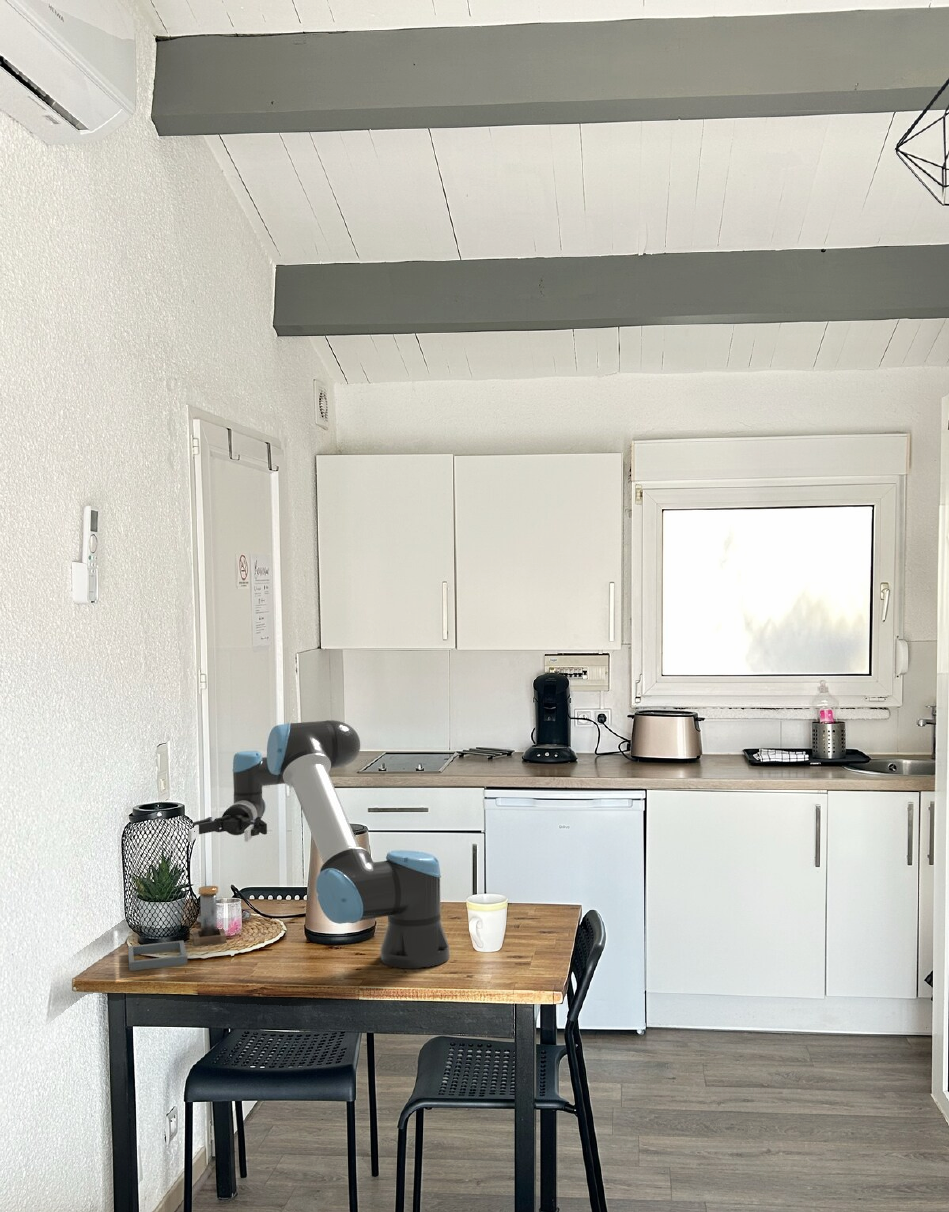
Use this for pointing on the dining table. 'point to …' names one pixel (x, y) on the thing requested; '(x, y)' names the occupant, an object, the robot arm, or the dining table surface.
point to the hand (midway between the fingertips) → (217, 836)
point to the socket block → (209, 938)
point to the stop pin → (208, 910)
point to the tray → (157, 961)
